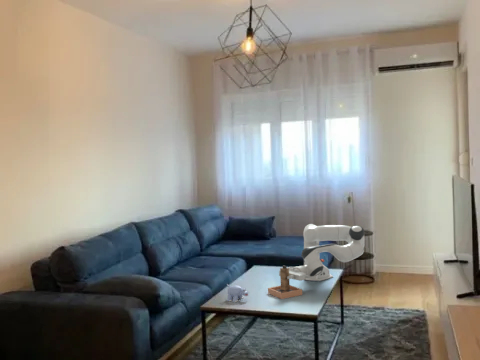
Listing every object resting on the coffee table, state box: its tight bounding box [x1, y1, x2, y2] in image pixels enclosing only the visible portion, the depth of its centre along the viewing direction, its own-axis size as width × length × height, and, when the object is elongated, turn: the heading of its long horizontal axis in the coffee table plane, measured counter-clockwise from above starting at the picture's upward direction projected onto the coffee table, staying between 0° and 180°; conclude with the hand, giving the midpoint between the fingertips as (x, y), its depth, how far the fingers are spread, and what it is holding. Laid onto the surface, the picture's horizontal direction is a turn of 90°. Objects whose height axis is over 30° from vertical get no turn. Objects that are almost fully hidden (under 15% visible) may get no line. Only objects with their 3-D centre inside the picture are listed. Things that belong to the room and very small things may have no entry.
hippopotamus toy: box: [226, 283, 249, 303], centre depth 306 cm, size 11×15×10 cm
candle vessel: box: [267, 284, 303, 300], centre depth 314 cm, size 16×16×4 cm
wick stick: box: [279, 265, 290, 291], centre depth 313 cm, size 4×4×16 cm
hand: (283, 277), depth 313 cm, fingers closed on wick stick, 4 cm apart
